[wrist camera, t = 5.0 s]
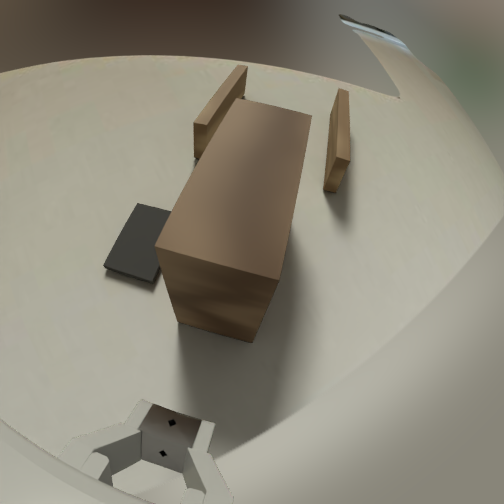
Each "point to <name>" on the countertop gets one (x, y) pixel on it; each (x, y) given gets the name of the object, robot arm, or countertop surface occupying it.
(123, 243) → the mat
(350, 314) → the countertop surface
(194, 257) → the walnut block
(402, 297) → the countertop surface
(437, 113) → the countertop surface
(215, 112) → the channel
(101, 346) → the countertop surface
